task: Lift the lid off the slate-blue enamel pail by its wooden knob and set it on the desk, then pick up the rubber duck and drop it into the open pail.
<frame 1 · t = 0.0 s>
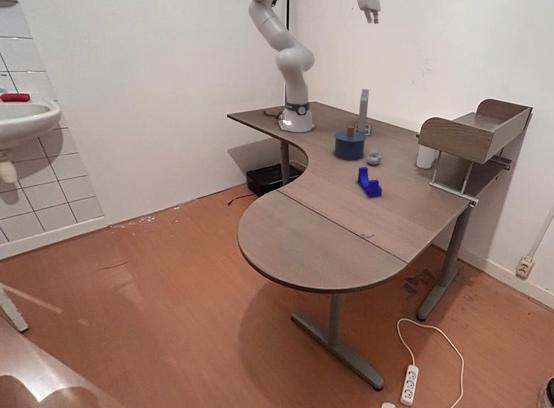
hand: (373, 23, 125), 52 cm above the table, tool tilted 20°, fingers open, 8 cm apart
foam cup: (427, 160, 138), on the table
can: (423, 166, 131), on the table
pail: (349, 154, 135), on the table
pail lid: (350, 136, 131), point 8 cm above the table, touching pail
network device: (362, 130, 168), on the table
rubber duck: (373, 164, 129), on the table
blue l-shaped block: (368, 189, 109), on the table
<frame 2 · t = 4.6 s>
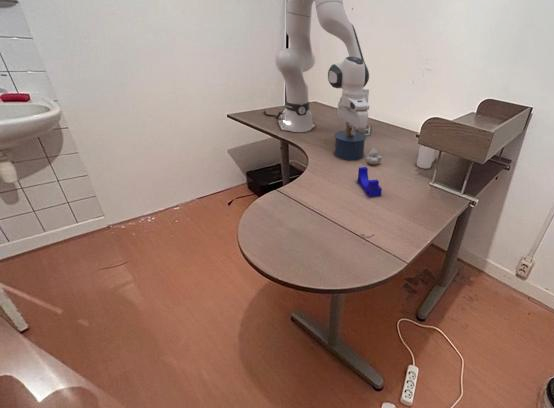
hand: (350, 133, 130), 10 cm above the table, tool pointing down, fingers closed on pail lid, 3 cm apart
pail lid: (350, 136, 131), point 9 cm above the table, touching gripper, pail
everything else where it was.
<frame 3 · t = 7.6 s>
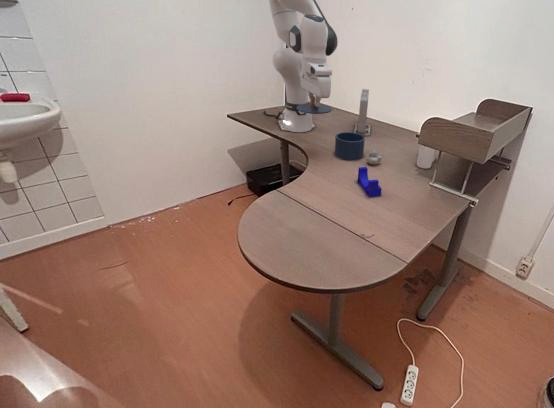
hand: (314, 104, 117), 23 cm above the table, tool pointing down, fingers closed on pail lid, 3 cm apart
pail lid: (314, 109, 118), point 21 cm above the table, touching gripper
everything else where it was.
when the fingers open (2 cm above the table, at t = 10.8 s): pail lid stays where it is, point 1 cm above the table.
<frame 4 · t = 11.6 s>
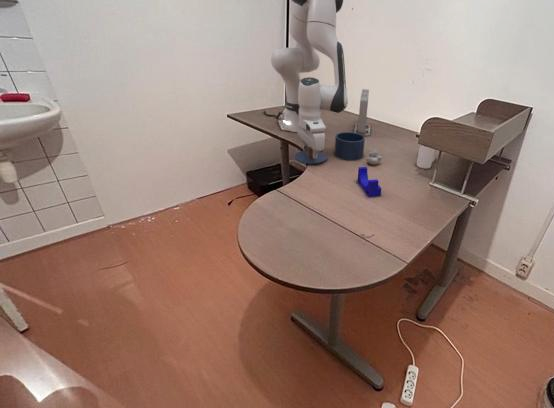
hand: (310, 153, 127), 2 cm above the table, tool pointing down, fingers open, 8 cm apart
pail lid: (311, 157, 128), point 1 cm above the table
everything else where it was.
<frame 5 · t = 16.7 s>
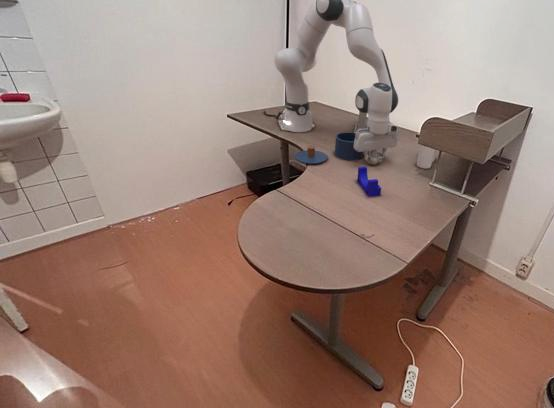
hand: (374, 158, 127), 3 cm above the table, tool pointing down, fingers closed on rubber duck, 6 cm apart
rubber duck: (373, 164, 129), on the table, touching gripper
everything else where it was.
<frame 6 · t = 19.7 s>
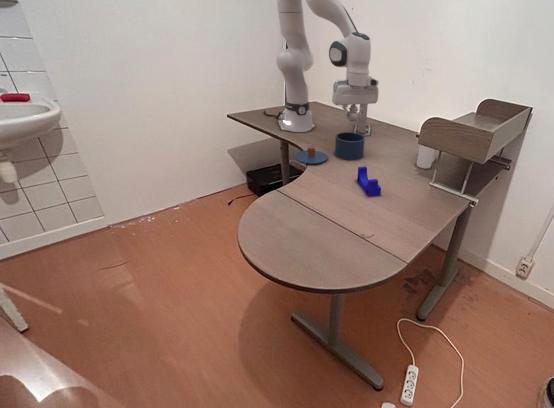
hand: (354, 114, 125), 19 cm above the table, tool pointing down, fingers closed on rubber duck, 6 cm apart
rubber duck: (353, 121, 127), point 16 cm above the table, touching gripper
everything else where it was.
when the fingers open (9 cm above the table, at t = 23.0 s): rubber duck drops 5 cm, resting on pail.
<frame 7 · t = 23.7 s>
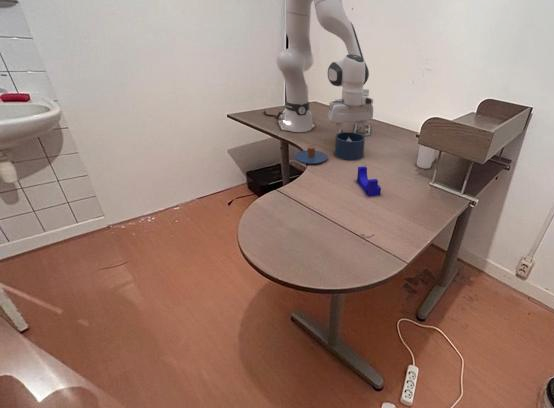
hand: (350, 131, 130), 11 cm above the table, tool pointing down, fingers open, 8 cm apart
rubber duck: (349, 154, 135), resting on pail
everything else where it was.
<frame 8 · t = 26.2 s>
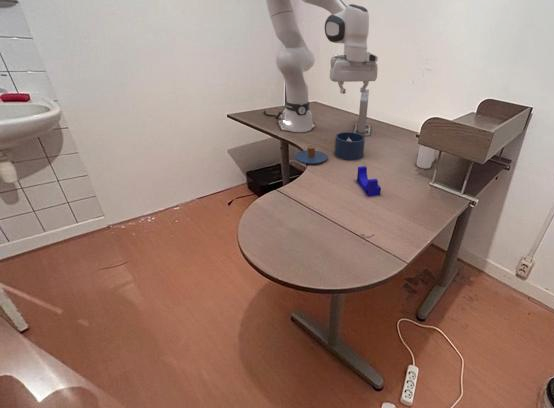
hand: (352, 92, 121), 27 cm above the table, tool pointing down, fingers open, 8 cm apart
nothing on the table moved.
at the end: pail lid inside the target area (0.3 cm from its centre), point 0.6 cm above the table; rubber duck inside the target area in the pail (0.1 cm from its centre), point 0.3 cm above the pail's base; the gripper is holding nothing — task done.
